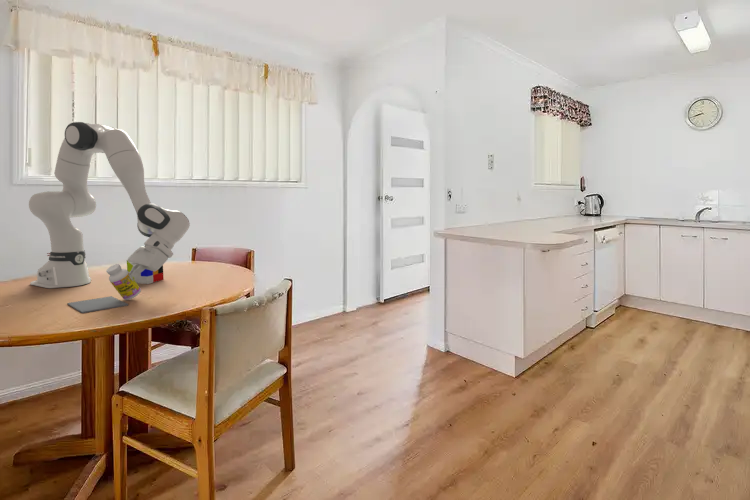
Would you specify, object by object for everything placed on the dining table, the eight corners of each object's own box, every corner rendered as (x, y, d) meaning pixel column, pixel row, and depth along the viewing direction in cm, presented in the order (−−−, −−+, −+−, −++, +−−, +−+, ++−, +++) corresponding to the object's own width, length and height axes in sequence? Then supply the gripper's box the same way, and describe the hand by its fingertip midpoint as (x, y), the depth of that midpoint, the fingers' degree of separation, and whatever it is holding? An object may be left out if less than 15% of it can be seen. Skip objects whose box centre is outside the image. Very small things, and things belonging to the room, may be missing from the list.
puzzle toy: (148, 284, 187) (146, 261, 186) (127, 282, 189) (126, 260, 188) (163, 279, 197) (162, 257, 195) (144, 278, 199) (143, 256, 197)
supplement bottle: (124, 303, 158) (102, 276, 151) (124, 295, 163) (103, 268, 156) (142, 294, 159) (121, 266, 153) (141, 286, 165) (121, 259, 158)
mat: (111, 297, 163) (111, 296, 163) (128, 305, 153) (128, 304, 153) (67, 304, 153) (67, 303, 153) (82, 313, 142) (82, 311, 142)
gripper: (139, 239, 171) (113, 267, 164) (162, 244, 158) (136, 274, 151) (151, 250, 175) (126, 277, 168) (175, 255, 162) (149, 284, 155)
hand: (131, 275), depth 160 cm, fingers closed, pressing on supplement bottle
